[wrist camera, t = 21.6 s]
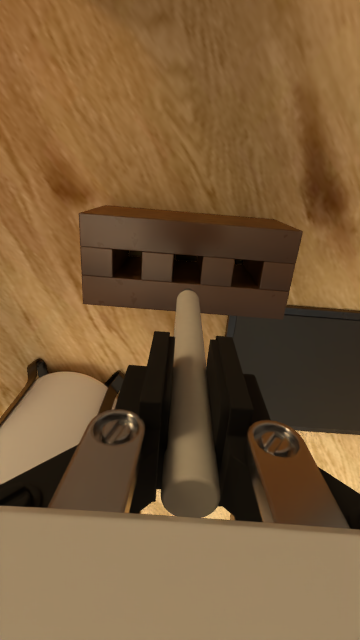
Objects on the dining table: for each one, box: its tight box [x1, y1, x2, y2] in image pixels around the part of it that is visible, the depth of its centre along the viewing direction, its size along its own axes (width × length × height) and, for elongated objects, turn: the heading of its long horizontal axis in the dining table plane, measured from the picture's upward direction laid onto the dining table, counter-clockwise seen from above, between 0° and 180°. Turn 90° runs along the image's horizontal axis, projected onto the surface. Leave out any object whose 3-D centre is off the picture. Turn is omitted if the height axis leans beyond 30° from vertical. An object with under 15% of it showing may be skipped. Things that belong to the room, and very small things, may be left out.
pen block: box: [79, 205, 303, 319], centre depth 28 cm, size 7×16×8 cm, turn 86°
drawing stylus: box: [161, 288, 220, 518], centre depth 13 cm, size 1×1×14 cm
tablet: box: [225, 305, 360, 435], centre depth 37 cm, size 22×16×1 cm
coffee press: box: [0, 359, 125, 485], centre depth 26 cm, size 17×16×30 cm
